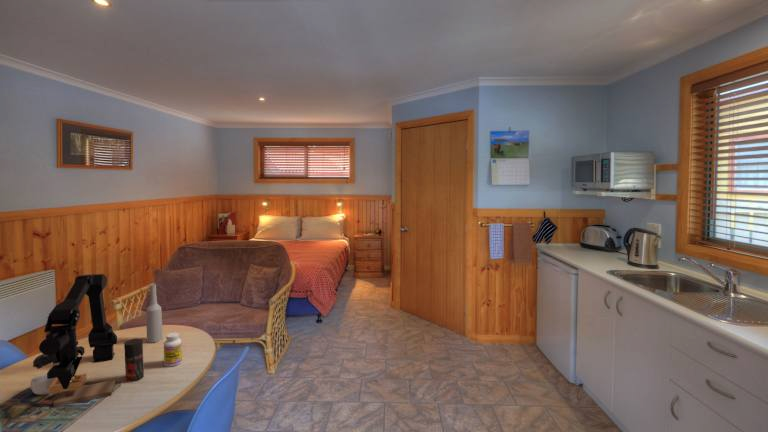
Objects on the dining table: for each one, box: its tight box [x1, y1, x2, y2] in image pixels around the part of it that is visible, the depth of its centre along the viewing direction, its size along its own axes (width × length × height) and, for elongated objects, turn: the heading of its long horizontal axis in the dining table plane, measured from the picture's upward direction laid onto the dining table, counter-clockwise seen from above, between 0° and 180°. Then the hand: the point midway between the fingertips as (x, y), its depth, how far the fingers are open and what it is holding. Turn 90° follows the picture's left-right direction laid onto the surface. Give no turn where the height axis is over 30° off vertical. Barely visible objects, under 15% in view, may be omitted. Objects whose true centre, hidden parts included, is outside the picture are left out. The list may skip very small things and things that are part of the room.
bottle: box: [145, 283, 164, 344], centre depth 178 cm, size 7×7×28 cm
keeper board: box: [53, 379, 117, 408], centre depth 133 cm, size 16×9×2 cm, turn 118°
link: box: [48, 373, 87, 395], centre depth 130 cm, size 9×6×2 cm, turn 118°
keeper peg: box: [65, 379, 72, 396], centre depth 130 cm, size 2×2×6 cm
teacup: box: [29, 372, 58, 396], centre depth 135 cm, size 10×8×5 cm
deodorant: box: [123, 338, 145, 383], centre depth 144 cm, size 6×6×15 cm
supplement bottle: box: [163, 332, 183, 368], centre depth 157 cm, size 7×7×13 cm
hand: (68, 384), depth 130 cm, fingers closed on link, 6 cm apart
